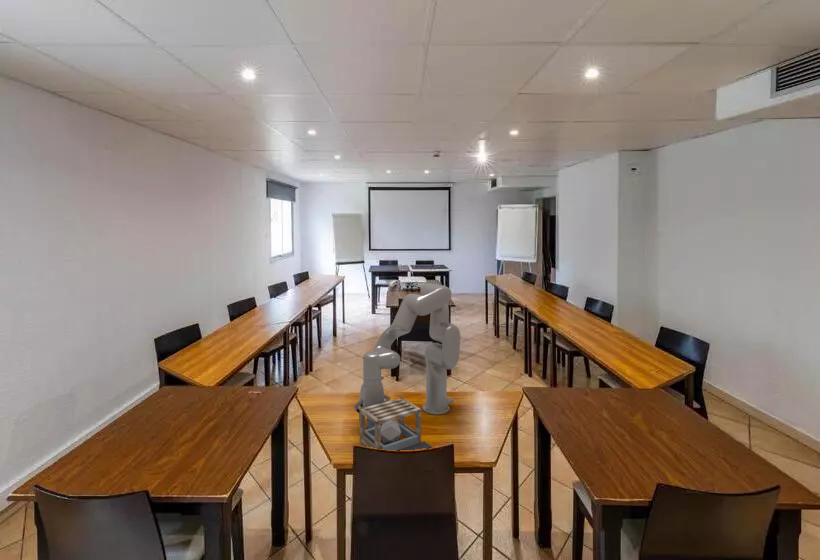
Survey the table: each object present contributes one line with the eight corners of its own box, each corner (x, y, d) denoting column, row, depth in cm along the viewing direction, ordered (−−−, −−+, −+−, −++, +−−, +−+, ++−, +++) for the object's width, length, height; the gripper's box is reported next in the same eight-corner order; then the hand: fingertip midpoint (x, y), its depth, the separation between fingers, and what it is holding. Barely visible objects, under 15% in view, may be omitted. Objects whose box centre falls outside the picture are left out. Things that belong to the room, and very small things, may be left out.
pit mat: (424, 442, 168) (424, 441, 168) (431, 447, 164) (431, 446, 164) (399, 450, 161) (399, 449, 161) (406, 456, 157) (406, 455, 157)
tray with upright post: (386, 420, 186) (386, 401, 185) (418, 443, 166) (418, 422, 165) (353, 430, 177) (353, 409, 176) (383, 455, 158) (383, 432, 156)
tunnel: (402, 428, 180) (402, 397, 178) (420, 441, 169) (421, 409, 167) (359, 441, 168) (359, 408, 167) (376, 456, 157) (376, 421, 156)
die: (392, 451, 162) (406, 428, 164) (373, 438, 163) (387, 415, 166) (393, 448, 171) (406, 426, 173) (374, 436, 172) (387, 414, 174)
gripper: (385, 374, 186) (385, 412, 188) (349, 382, 176) (350, 421, 178) (394, 379, 180) (394, 418, 182) (358, 388, 170) (358, 428, 172)
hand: (372, 419), depth 180 cm, fingers open, 9 cm apart
